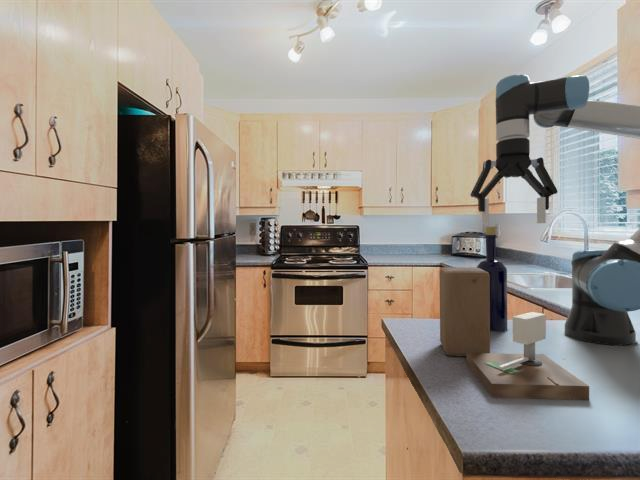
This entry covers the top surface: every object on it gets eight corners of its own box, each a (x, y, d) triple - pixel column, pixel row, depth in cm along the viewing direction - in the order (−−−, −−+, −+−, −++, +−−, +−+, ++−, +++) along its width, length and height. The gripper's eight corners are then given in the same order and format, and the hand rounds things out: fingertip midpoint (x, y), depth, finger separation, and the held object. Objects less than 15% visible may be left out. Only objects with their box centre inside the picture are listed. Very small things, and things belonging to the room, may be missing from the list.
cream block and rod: (545, 357, 75) (545, 314, 75) (507, 372, 68) (507, 324, 68) (532, 353, 77) (531, 311, 77) (493, 367, 70) (493, 321, 70)
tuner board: (543, 365, 79) (543, 352, 79) (589, 399, 63) (589, 384, 63) (466, 363, 81) (466, 351, 81) (492, 396, 65) (491, 381, 65)
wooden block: (491, 359, 83) (490, 271, 83) (445, 357, 85) (444, 271, 85) (480, 345, 93) (480, 266, 93) (439, 343, 95) (438, 266, 94)
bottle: (515, 331, 104) (514, 226, 103) (482, 332, 104) (481, 227, 104) (499, 323, 114) (498, 226, 113) (469, 323, 114) (468, 227, 113)
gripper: (556, 141, 95) (557, 222, 96) (457, 145, 98) (458, 225, 99) (573, 134, 88) (573, 222, 89) (466, 139, 91) (467, 224, 91)
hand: (513, 224), depth 94 cm, fingers open, 13 cm apart
